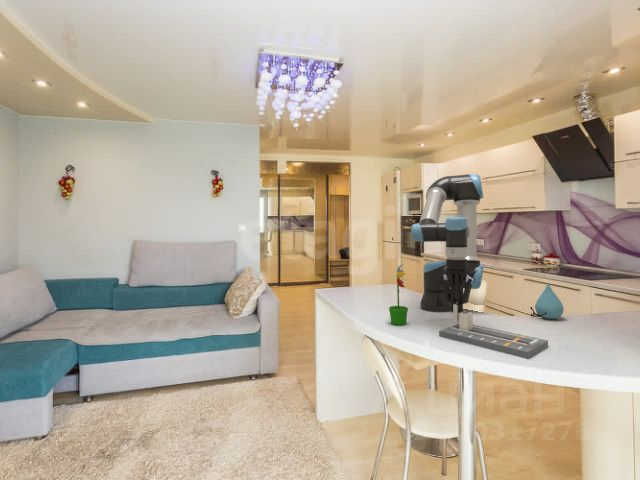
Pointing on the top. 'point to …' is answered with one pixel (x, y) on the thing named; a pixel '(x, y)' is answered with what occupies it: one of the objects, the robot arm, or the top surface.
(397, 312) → the potted flower
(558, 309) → the toy
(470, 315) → the fader tab
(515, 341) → the console
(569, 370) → the top surface
